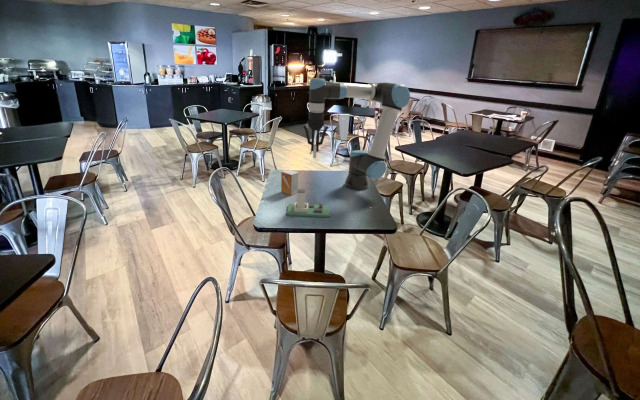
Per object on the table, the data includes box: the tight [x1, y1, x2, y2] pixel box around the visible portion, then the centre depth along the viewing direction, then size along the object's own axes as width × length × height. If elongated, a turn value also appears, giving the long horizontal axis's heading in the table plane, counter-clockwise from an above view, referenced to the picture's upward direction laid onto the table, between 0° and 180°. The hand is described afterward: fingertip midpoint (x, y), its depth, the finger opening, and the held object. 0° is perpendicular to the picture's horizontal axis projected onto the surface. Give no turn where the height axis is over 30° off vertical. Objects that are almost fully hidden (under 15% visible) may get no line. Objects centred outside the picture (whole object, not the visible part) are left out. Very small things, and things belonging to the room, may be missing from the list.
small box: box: [280, 168, 299, 196], centre depth 189 cm, size 8×6×13 cm
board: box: [286, 201, 331, 218], centre depth 168 cm, size 22×12×4 cm, turn 91°
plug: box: [296, 188, 306, 208], centre depth 167 cm, size 4×4×10 cm
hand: (314, 157), depth 169 cm, fingers closed
